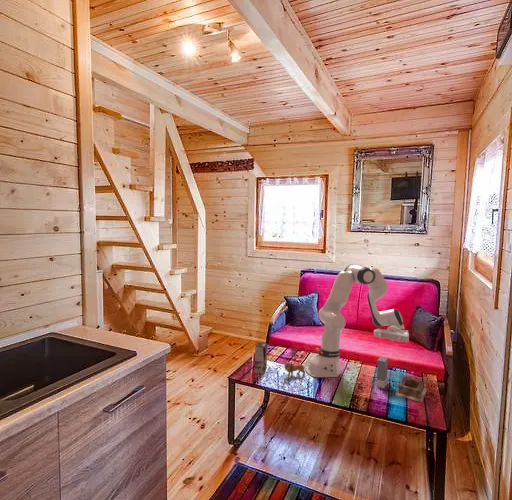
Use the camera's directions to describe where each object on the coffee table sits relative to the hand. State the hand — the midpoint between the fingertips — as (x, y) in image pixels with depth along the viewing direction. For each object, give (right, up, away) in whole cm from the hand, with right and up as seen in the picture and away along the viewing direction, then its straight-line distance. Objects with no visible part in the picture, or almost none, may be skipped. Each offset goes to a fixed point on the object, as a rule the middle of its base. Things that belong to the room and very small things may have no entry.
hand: (388, 338), depth 197 cm
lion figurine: (-56, -23, +1) cm, 61 cm away
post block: (+5, -25, -18) cm, 31 cm away
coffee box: (-76, -22, +7) cm, 80 cm away
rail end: (-7, -24, -9) cm, 27 cm away
